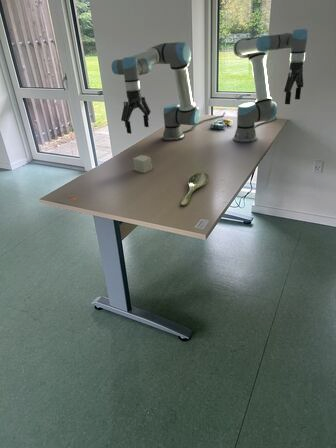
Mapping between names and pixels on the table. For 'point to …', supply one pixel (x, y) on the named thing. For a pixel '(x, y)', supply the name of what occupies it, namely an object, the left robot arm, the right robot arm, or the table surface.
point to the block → (142, 164)
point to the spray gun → (221, 123)
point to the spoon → (195, 184)
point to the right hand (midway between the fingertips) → (292, 101)
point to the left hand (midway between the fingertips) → (138, 130)
